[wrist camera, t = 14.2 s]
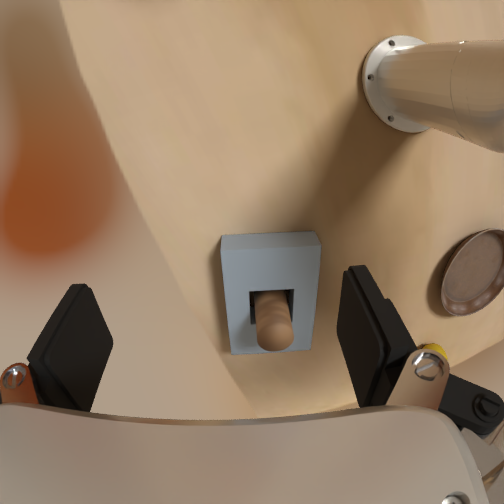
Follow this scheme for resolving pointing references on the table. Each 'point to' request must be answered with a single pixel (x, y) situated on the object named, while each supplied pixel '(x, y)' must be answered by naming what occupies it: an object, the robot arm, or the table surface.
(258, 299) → the walnut peg
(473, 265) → the plant saucer
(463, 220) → the table surface
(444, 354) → the lemon
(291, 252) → the hole board
